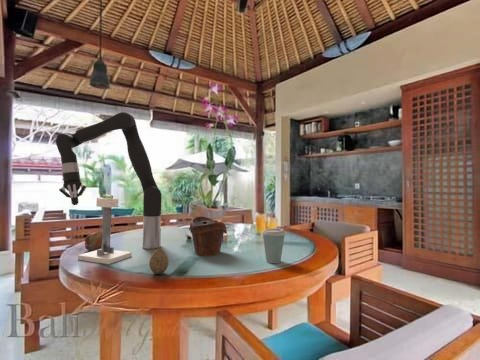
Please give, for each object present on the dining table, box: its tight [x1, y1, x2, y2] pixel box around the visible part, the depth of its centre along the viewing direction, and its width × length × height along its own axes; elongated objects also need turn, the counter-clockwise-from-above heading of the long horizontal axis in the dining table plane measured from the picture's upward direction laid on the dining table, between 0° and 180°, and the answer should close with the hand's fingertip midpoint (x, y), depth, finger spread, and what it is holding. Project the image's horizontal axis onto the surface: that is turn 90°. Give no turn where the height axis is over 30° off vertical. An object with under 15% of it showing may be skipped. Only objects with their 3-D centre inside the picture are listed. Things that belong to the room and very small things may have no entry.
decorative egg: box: [149, 247, 169, 275], centre depth 110 cm, size 7×7×10 cm
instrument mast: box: [95, 194, 119, 253], centre depth 131 cm, size 8×5×26 cm, turn 70°
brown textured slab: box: [84, 231, 102, 251], centre depth 148 cm, size 15×3×8 cm, turn 179°
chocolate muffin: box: [188, 216, 228, 257], centre depth 144 cm, size 18×20×18 cm
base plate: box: [77, 246, 132, 265], centre depth 131 cm, size 18×14×4 cm
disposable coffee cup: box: [261, 227, 286, 264], centre depth 130 cm, size 11×11×15 cm
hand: (75, 204), depth 146 cm, fingers closed
